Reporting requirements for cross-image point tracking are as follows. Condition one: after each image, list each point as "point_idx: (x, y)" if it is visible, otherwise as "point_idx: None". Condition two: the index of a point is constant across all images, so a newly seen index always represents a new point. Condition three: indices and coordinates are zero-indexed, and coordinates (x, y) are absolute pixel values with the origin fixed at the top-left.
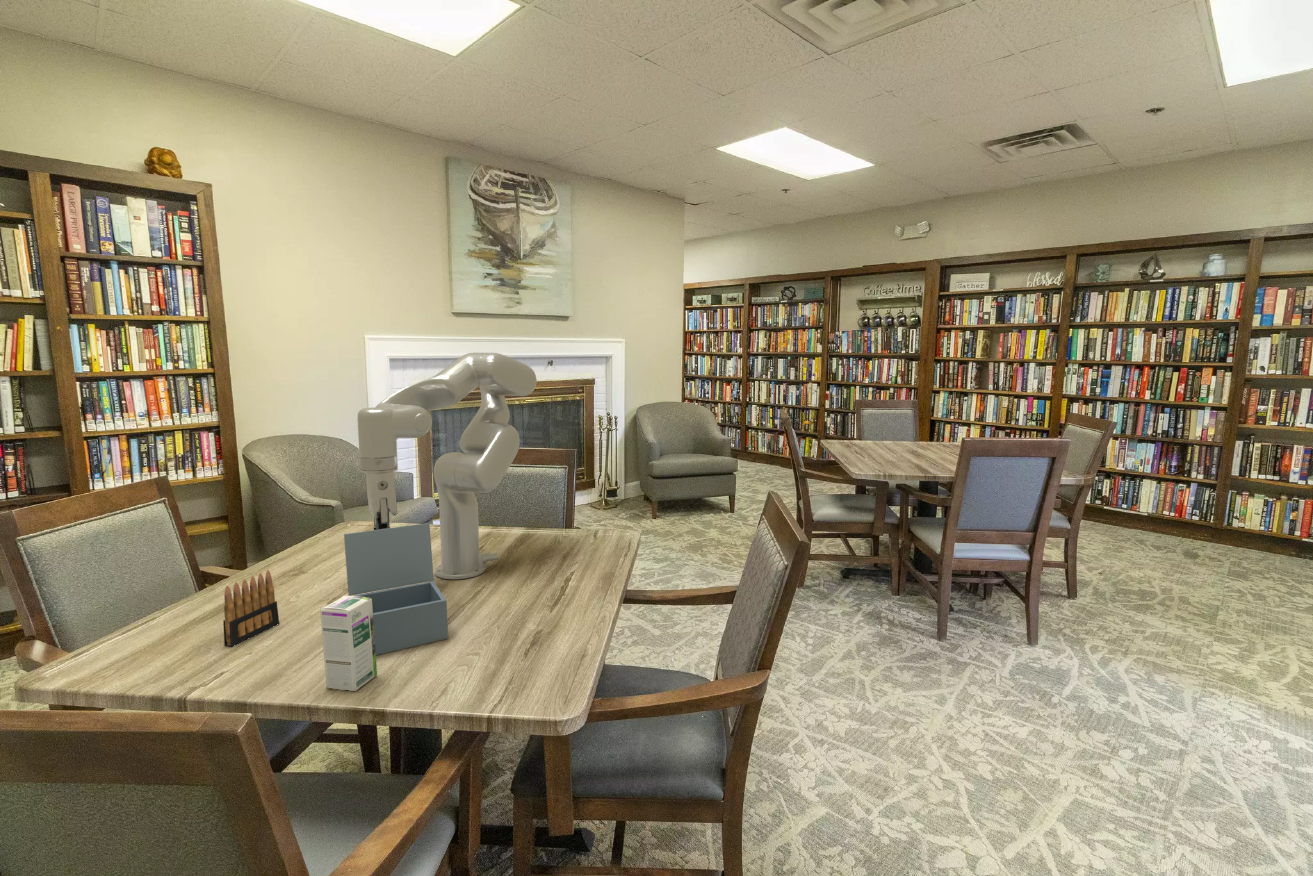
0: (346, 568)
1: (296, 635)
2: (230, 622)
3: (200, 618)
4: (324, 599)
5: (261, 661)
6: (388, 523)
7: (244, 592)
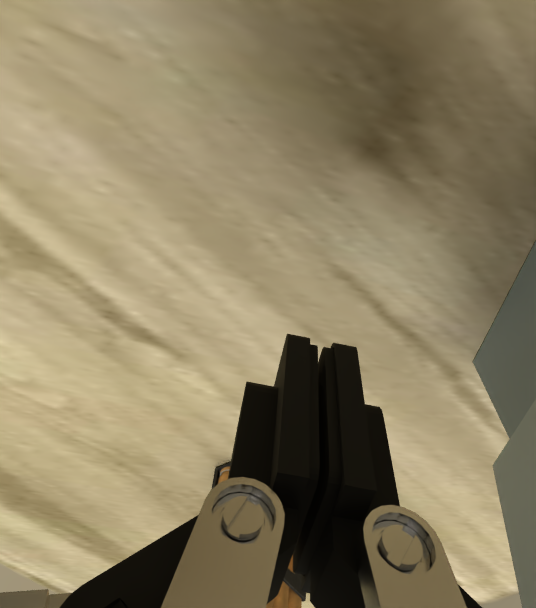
0: (518, 582)
1: None
2: (305, 599)
3: (84, 541)
4: (101, 340)
5: (438, 521)
6: (457, 604)
7: None
